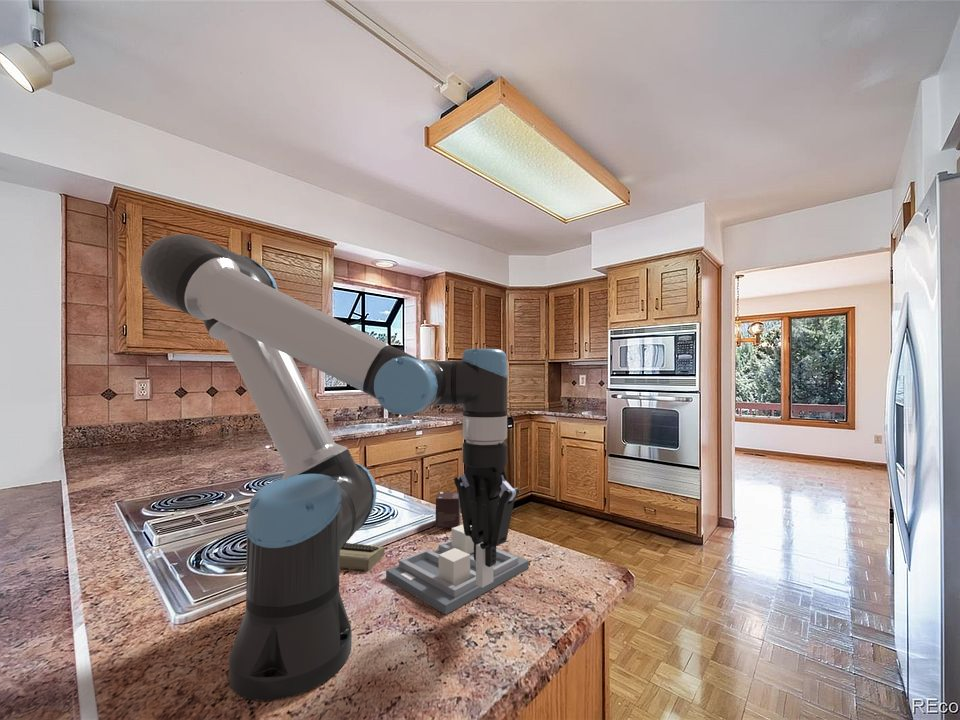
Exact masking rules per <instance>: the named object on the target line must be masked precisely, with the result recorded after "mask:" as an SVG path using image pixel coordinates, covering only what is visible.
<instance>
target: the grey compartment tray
mask: <svg viewBox="0 0 960 720" xmlns="http://www.w3.org/2000/svg"><path fill="white" fill-rule="evenodd" d="M451 549H454V548H452V539H449V540H447V541H445V542H442V543H439V544H438V549H435V550H431V549H429V548H426V549H423V550H421V551H419V552H417V553H414V554H411V555H409V556H406V557H403V558H401V559H399V560H398V564H397V565H395V566H393V567H390V568H387V569H386V570H385V579H387V581H390V582H392V583H393V584H395V585H397V586H398V587H400V588H402V589H403V590H405V591H406V592H408V593H409V594H411V595H413V596H415V597H417V598H418V599H420V600H421V601H422V602H424V603H426V604H427V605H429V606H430V607H432V608H434V609H436V610H437V611H439V612H440V613H442V614H443V615H448V614H450V613H452V612H453V611H456V610H457V609H459V608H460V607H462V606H464V605H466V604H467V603H469V602H471V601H473V600H475V599H476V598H479V597H481V596H482V595H484V594H485V593H487V592H489V591H490V590H493V589H494V588H496V587H498V586H499V585H501V584H503V583H505V582H506V581H508V580H510V579H512V578H514V577H515V576H517V575H519V574H521V573H523V572H524V571H525V570H528V569H529V567H530V566H529V565H530V564H529V563H530V561H529V559H526V558H523V557H522V556H518V555H516V554H514V553H511V552H509V551H507V550H506V551H505V550H503V549H501V548H498V547H496V564H495V565H494V582H492V583H490V584H488V585H486V586H485V587H483V588H482V587H480V586H478V585H476V561H475V560H474V552H473V553H471V554H470V580H468V581H466V582H464V583H462V584H460V585H458V586H456V587H455V586H454V585H452V584H450V583H448V582H446V581H444V580H443V579H441V578H439V577H438V565H439V554H442V553H444V552H446V551H449V550H451Z"/></svg>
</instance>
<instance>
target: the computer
mask: <svg viewBox="0 0 960 720" xmlns="http://www.w3.org/2000/svg"><path fill="white" fill-rule="evenodd" d="M385 551H386V550H385V546H378V545H377V546H376V545H371V544H369V545H368V544H363V543H361V544H360V543H359V544H358V543H350V542H346V543H345V544H344V545H343V546H342V548H341V549H340V568H339V570H342V569H344V570H350V571H353V570H354V571H362V572H367V573H368V572H369V571H371V570H372V569H373V567H375V566H376V564H377V563H378V562H379V561H380V560H381V559H382V558H383V557H384V556H385Z"/></svg>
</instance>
